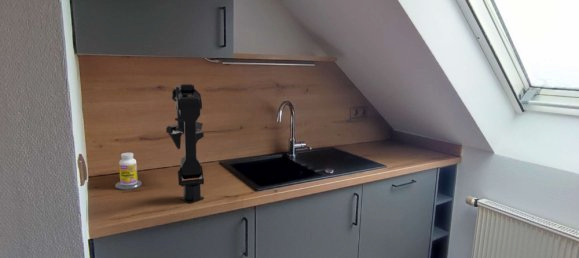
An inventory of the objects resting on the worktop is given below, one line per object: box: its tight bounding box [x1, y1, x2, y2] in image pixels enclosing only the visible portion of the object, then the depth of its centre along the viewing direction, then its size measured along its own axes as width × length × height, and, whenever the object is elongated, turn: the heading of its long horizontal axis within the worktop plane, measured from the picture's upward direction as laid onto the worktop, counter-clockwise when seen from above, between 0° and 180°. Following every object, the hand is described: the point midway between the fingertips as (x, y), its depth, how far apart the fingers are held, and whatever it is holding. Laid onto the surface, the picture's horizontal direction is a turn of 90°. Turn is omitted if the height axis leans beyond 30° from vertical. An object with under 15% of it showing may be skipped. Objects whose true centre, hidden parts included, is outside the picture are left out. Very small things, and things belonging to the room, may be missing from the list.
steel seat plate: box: [114, 179, 142, 191], centre depth 155 cm, size 10×10×1 cm
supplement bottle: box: [118, 152, 139, 186], centre depth 153 cm, size 7×7×13 cm
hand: (185, 150), depth 160 cm, fingers open, 9 cm apart
